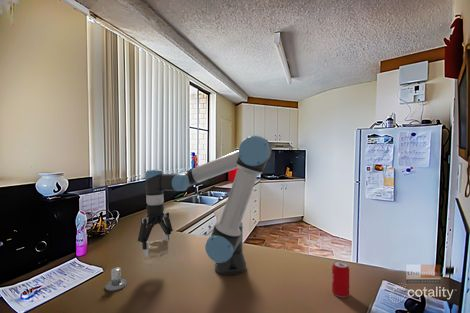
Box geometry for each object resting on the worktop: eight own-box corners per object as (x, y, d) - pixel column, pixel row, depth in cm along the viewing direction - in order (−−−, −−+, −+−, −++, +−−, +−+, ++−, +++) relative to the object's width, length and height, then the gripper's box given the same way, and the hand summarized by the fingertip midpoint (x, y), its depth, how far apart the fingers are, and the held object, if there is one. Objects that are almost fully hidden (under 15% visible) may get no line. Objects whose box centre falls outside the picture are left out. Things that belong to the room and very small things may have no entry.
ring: (172, 251, 114) (172, 242, 113) (154, 259, 105) (154, 249, 105) (158, 246, 119) (158, 238, 119) (140, 254, 111) (140, 245, 111)
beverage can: (344, 289, 100) (344, 260, 99) (352, 298, 93) (352, 267, 93) (329, 289, 99) (329, 260, 99) (336, 299, 93) (336, 267, 93)
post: (130, 284, 103) (130, 268, 103) (111, 293, 97) (111, 276, 97) (120, 278, 108) (119, 263, 108) (101, 287, 101) (101, 270, 101)
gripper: (169, 198, 123) (170, 242, 124) (127, 207, 105) (129, 259, 105) (179, 199, 119) (181, 245, 119) (137, 209, 101) (139, 263, 101)
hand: (156, 251), depth 112 cm, fingers closed on ring, 10 cm apart
